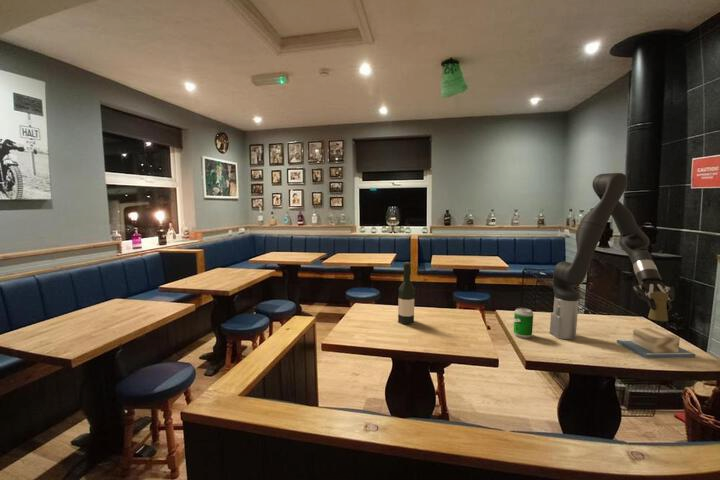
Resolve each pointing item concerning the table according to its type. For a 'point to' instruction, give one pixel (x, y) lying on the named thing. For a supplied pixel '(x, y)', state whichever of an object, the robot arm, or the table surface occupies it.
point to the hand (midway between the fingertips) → (661, 309)
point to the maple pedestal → (656, 340)
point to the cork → (659, 306)
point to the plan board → (648, 354)
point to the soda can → (523, 322)
